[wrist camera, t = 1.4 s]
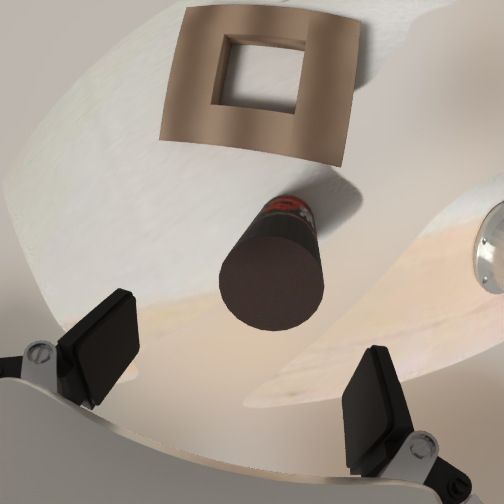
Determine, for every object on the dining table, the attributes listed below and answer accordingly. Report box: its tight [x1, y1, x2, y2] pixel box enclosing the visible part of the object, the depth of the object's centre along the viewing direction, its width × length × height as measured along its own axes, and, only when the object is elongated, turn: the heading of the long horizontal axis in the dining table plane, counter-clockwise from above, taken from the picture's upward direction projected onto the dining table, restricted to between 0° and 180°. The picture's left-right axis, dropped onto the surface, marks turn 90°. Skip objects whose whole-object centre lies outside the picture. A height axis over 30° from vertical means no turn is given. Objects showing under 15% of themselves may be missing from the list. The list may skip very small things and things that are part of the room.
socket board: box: [159, 5, 361, 167], centre depth 23 cm, size 18×16×3 cm
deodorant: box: [219, 196, 324, 331], centre depth 22 cm, size 6×6×15 cm
